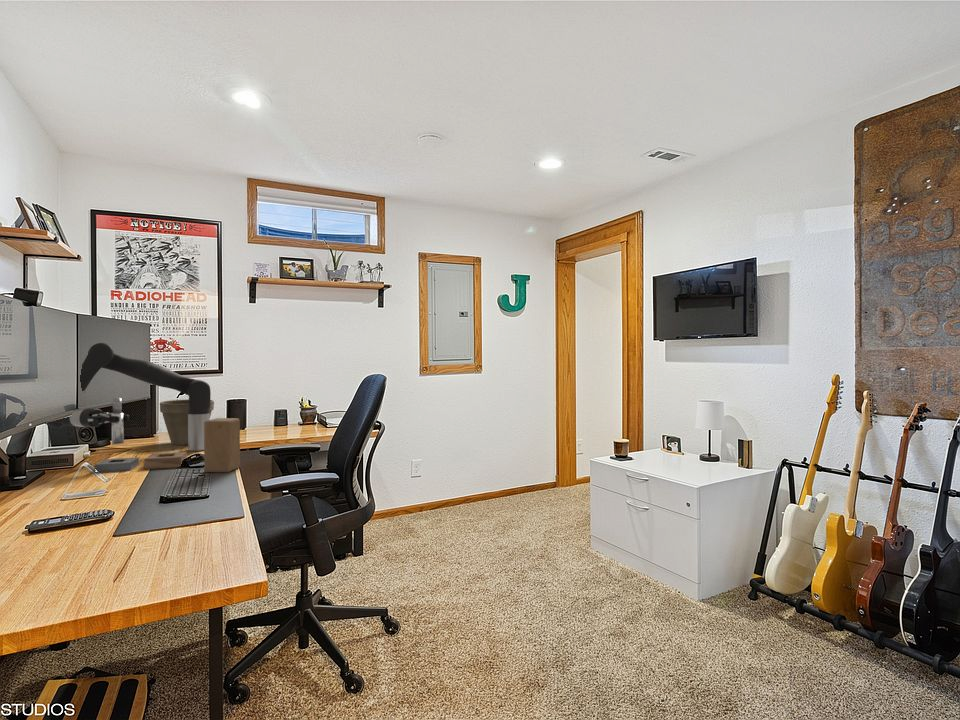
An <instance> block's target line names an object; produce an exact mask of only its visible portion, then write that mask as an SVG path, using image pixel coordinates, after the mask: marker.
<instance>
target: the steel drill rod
mask: <svg viewBox="0 0 960 720" xmlns="http://www.w3.org/2000/svg"><path fill="white" fill-rule="evenodd" d="M122 400H123V399H122V397H114V398H112V412H111V413H112V414H111V416H119V417H120V421H119V422H111V444H112V445H121V444H122V445H123V444H124V443H125V437H124V436H125V433H124V431H125V428H124V427H125V426H124V425H125V424H124V421H125V420H124V418H123V414H124V412H123V409H122V407H123V405H122V404H123V403H122V402H123V401H122Z"/></svg>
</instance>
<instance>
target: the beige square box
mask: <svg viewBox="0 0 960 720" xmlns="http://www.w3.org/2000/svg"><path fill="white" fill-rule="evenodd" d="M187 452H188V451H177V452H176V451H175V452H160V453H159V452H157V453H155V452H154V453H151V454H149V455H148V456H146V457H145V458H144V459H143V469H144V470H154V469H170V468H171V469H172V468H180V467H179V466H181V464H182V461H183V460H184V459H186V458H187V459H188V455H187V454H188V453H187Z"/></svg>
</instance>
